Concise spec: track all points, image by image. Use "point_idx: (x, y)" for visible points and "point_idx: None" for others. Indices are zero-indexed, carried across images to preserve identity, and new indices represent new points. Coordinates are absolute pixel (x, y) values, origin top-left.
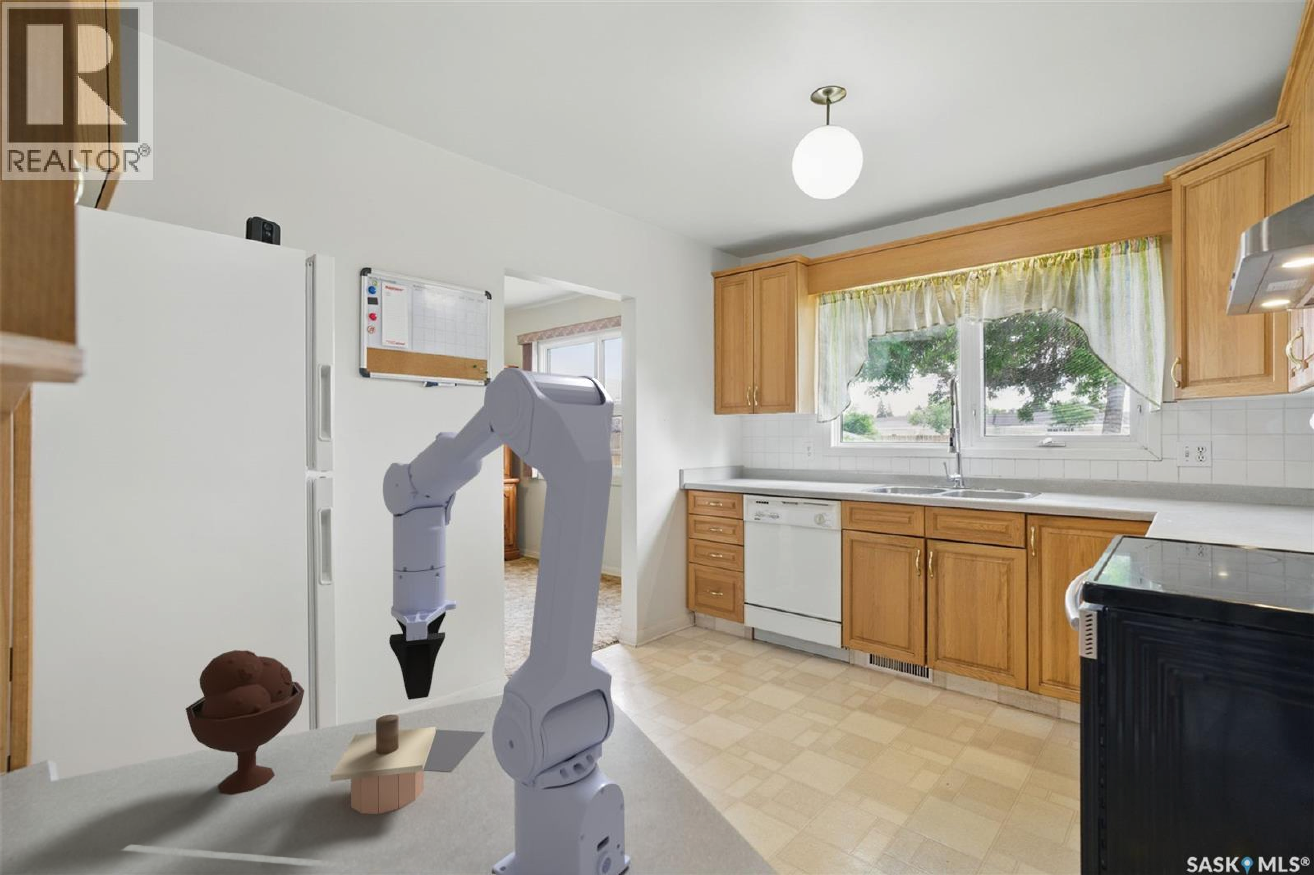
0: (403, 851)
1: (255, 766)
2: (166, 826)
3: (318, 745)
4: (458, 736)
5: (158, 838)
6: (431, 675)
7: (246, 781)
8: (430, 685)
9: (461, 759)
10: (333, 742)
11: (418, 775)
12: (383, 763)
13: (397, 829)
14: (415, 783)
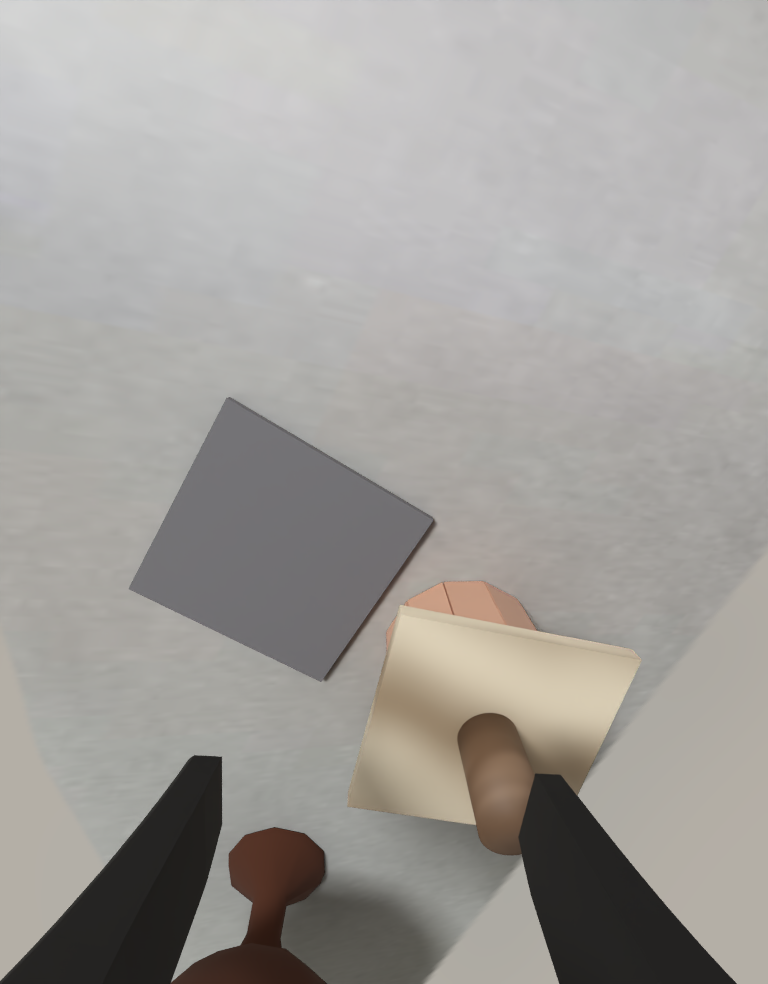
0: (670, 622)
1: (272, 891)
2: (374, 926)
3: (140, 778)
4: (227, 481)
5: (406, 926)
6: (650, 890)
7: (305, 881)
8: (598, 824)
9: (378, 489)
10: (134, 753)
11: (521, 623)
12: (569, 744)
13: (591, 630)
14: (531, 623)
